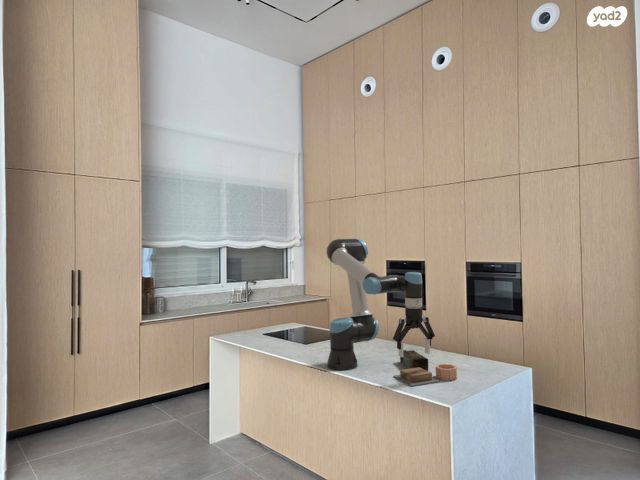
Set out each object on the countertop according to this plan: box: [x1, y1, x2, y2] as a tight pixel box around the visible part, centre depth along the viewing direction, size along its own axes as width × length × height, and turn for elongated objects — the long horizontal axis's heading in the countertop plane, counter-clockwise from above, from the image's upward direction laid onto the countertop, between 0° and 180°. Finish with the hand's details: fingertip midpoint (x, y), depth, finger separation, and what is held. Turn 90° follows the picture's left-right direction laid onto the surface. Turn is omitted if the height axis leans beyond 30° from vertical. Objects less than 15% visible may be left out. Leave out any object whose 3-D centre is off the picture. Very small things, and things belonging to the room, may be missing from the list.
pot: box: [435, 363, 458, 381], centre depth 190 cm, size 9×9×5 cm
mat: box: [393, 374, 440, 388], centre depth 188 cm, size 15×14×1 cm
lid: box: [399, 367, 433, 383], centre depth 188 cm, size 10×10×3 cm
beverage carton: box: [399, 349, 429, 372], centre depth 209 cm, size 8×19×7 cm, turn 8°
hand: (414, 354), depth 189 cm, fingers open, 13 cm apart
